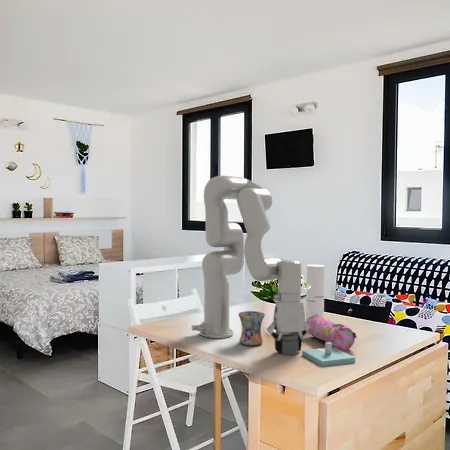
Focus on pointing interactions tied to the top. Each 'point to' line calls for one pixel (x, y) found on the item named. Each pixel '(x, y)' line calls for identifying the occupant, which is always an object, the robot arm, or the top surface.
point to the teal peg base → (328, 355)
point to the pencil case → (331, 332)
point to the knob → (290, 344)
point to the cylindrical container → (315, 290)
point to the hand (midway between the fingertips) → (288, 350)
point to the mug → (251, 327)
